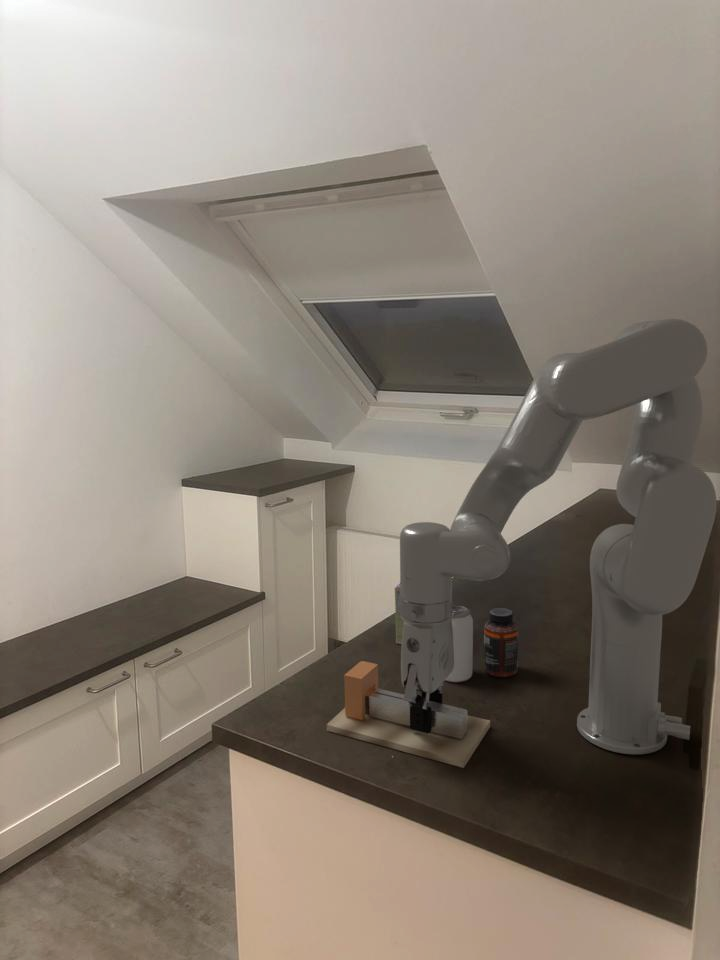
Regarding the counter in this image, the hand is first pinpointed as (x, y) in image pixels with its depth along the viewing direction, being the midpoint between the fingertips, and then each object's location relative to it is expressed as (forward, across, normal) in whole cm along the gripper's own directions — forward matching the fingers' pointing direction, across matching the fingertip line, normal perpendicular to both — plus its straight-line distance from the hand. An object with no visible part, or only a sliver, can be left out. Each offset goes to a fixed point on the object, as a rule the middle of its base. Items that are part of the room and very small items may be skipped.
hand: (426, 722), depth 103 cm
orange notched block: (+1, 0, +11) cm, 11 cm away
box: (+2, +33, +16) cm, 37 cm away
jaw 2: (+1, +1, +1) cm, 2 cm away
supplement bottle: (+2, +25, -4) cm, 25 cm away
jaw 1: (+1, -1, +1) cm, 2 cm away
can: (+2, +20, +3) cm, 20 cm away
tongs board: (+2, 0, +3) cm, 4 cm away
